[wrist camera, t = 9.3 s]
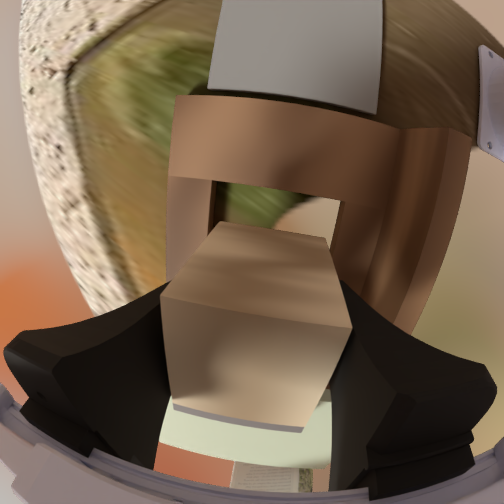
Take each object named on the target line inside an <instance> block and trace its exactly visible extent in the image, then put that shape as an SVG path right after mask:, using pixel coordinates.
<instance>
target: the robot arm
mask: <svg viewBox="0 0 504 504" xmlns="http://www.w3.org/2000/svg"><path fill="white" fill-rule="evenodd" d="M478 50H479V64H480V111H479V126H478V136H477V144H478V146H479V148H480V149H481V150H483V151H485V152H487V153H488V154H490V155H492V156H494V157H496V158H497V159H499V160H501V161H502V162H504V59H503V58H501V57H500V56H499V55H497V54H496V53H495V52H493V51H492V50H490V49H489V48H488V47H486V46H484V45H481V46H479V48H478ZM489 55H490V56H489ZM488 143H489V148H488V146H487V144H488ZM171 281H172V280H171ZM171 281H169V282H167V283H165V284H164V285H162V286H160V287H158V288H156V289H155V290H153V291H151V292H149V293H147V294H146V295H144V296H142V297H140V298H138V299H136V300H134V301H132V302H130V303H128V304H126V305H124V306H122V307H120V308H117V309H115V310H113V311H110V312H108V313H105V314H103V315H100V316H97V317H94V318H90V319H87V320H84V321H81V322H77V323H74V324H69V325H64V326H59V327H54V328H47V329H38V330H26V331H22V332H20V333H19V334H18V335H17V336H16V337H15V338H14V339H13V340H12V341H11V342H10V343H9V344H8V345H7V346H6V347H5V348H4V358H5V361H6V363H7V365H8V367H9V369H10V370H11V372H12V374H13V375H14V377H15V378H16V380H17V381H18V382H19V384H20V385H21V387H22V388H23V390H24V391H25V392H26V394H27V395H28V396H29V399H28V400H27V401H26V403H25V404H24V405H23V406H22V405H20V404H19V403H17V402H16V401H15V400H14V398H13V397H12V395H11V394H10V393H9V391H8V390H7V389H6V388H5V387H4V386H3V384H1V383H0V461H1V462H2V463H3V464H4V465H5V467H6V468H7V469H8V470H9V471H10V472H11V473H12V474H13V475H14V476H15V477H16V478H15V480H14V481H13V483H12V485H11V487H12V490H13V492H14V494H15V495H16V496H17V497H18V498H19V499H20V500H21V501H22V502H23V503H24V504H504V437H503V438H502V439H501V440H500V441H499V442H498V443H497V444H496V445H495V447H494V448H492V449H490V450H488V451H486V452H484V453H482V454H480V455H477V456H475V457H473V454H472V451H471V448H470V445H469V444H471V443H472V442H473V441H474V437H473V434H472V431H471V430H472V429H473V428H474V426H475V425H476V424H477V423H478V422H479V421H480V419H481V418H482V417H483V416H484V415H485V413H486V412H487V411H488V410H489V408H490V407H491V405H492V404H493V402H494V399H495V397H496V394H497V386H496V384H495V382H494V381H493V379H492V377H491V375H490V373H489V372H488V370H487V368H486V366H485V365H484V364H481V363H477V362H474V361H470V360H466V359H463V358H460V357H457V356H454V355H451V354H449V353H446V352H444V351H441V350H439V349H437V348H434V347H432V346H430V345H428V344H426V343H424V342H422V341H420V340H418V339H416V338H414V337H413V336H411V335H409V334H408V333H406V332H404V331H403V330H401V329H400V328H398V327H397V326H395V325H394V324H392V323H391V322H389V321H388V320H387V319H385V318H384V317H383V316H382V315H380V314H379V313H378V312H377V311H375V310H374V309H373V308H372V307H371V306H370V305H368V304H367V303H366V302H365V301H364V300H363V299H362V298H361V297H360V296H359V295H358V294H357V293H355V292H354V291H353V290H352V289H351V288H350V287H349V286H348V285H347V284H346V283H345V282H344V281H343V280H339V282H340V286H341V289H342V292H343V296H344V299H345V303H346V306H347V310H348V313H349V317H350V321H351V324H352V331H351V333H350V336H349V338H348V340H347V343H346V345H345V347H344V350H343V352H342V354H341V356H340V359H339V361H338V363H337V365H336V367H335V370H334V372H333V374H332V376H331V378H330V380H329V386H330V393H331V407H332V448H331V468H330V481H329V490H328V492H301V493H294V492H266V491H254V490H244V489H235V488H228V487H221V486H216V485H210V484H205V483H200V482H194V481H190V480H186V479H182V478H178V477H174V476H170V475H167V474H163V473H160V472H156V471H153V468H154V463H155V457H156V451H157V446H158V442H159V437H160V433H161V429H162V425H163V421H164V417H165V414H166V410H167V407H168V404H169V400H170V397H171V390H170V383H169V377H168V370H167V362H166V354H165V346H164V336H163V326H162V315H161V302H160V295H161V293H162V292H163V291H164V290H165V288H166V287H167V286H168V284H169V283H170V282H171ZM111 479H112V480H111ZM141 491H142V492H141Z"/></svg>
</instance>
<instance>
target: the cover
mask: <svg viewBox="0 0 504 504" xmlns="http://www.w3.org/2000/svg"><path fill="white" fill-rule="evenodd" d="M159 442H162V443H165V444H168V445H171V446H174V447H178V448H181V449H185V450H188V451H192V452H196V453H200V454H204V455H209V456H213V457H217V458H222V459H228V460H233V461H239V462H245V463H251V464H259V465H267V466H276V467H288V468H306V469H324V468H325V467H326V466H327V465H328V464H329V463H330V462H331V448H332V407H331V393H330V390H329V389H325V390H324V392H323V394H322V396H321V398H320V400H319V402H318V404H317V406H316V408H315V410H314V411H313V413H312V415H311V417H310V419H309V420H308V422H307V424H306V426H305V427H298V426H287V425H278V424H270V423H263V422H256V421H250V420H244V419H238V418H233V417H227V416H223V415H218V414H213V413H209V412H204V411H200V410H196V409H192V408H189V407H185V406H181V405H178V404H174V403H173V402H172V396H171V397H170V400H169V404H168V407H167V410H166V414H165V417H164V421H163V425H162V429H161V433H160V437H159Z"/></svg>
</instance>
